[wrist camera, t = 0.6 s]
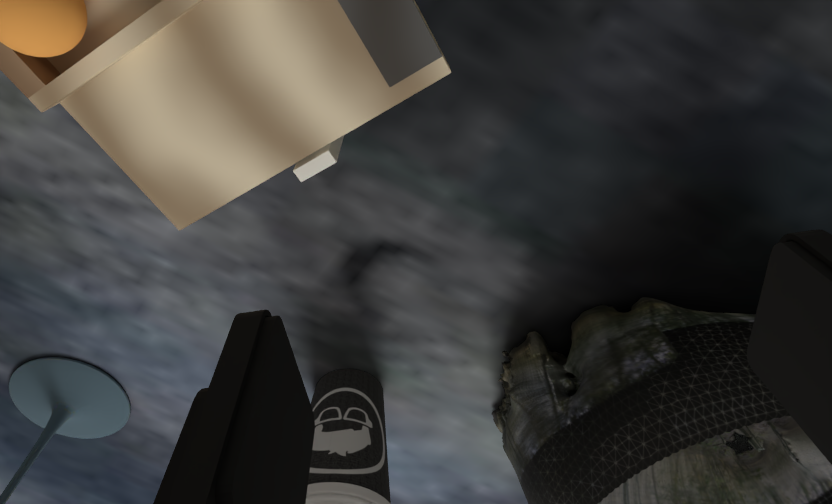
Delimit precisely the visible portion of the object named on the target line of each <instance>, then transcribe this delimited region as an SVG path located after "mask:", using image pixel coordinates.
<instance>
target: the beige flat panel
mask: <svg viewBox="0 0 832 504" xmlns="http://www.w3.org/2000/svg"><path fill="white" fill-rule="evenodd" d="M84 3H85V6H86V10H87V27H86V30H85V33H84V35H83V37H82V39H81V41H80V42H79V43H78V44H77V45H76V46H75V47H74V48H73V49H71V50H70V51H68V52H66V53H64V54H61V55H58V56H53V57H35V56H30V55H25V54H22V53H20V52H17V51H15V50H13V49H11V48H9V47H7V46H6V45H4V44H3V43H1V42H0V70H1V71H2V72H3V73H4V74H5V75H6V76H7V77H8V78H9V79H10V80H11V81H12V82H13V83H14V84H15V85H16V86H17V87H18V88H19V89H20V90H21V92H22V93H23V94H24V95H25V96H26V97H27V98H28V99H29V100H30V101H31V102H32V103H33V104H34V105H35V106H36V107H37V108H38V109H39V110H40V111H41V112H44V111H46V110H47V109H49V108H51V107H53V106H55V105H57V104H58V103H60V104H61V105H62V106H63V107H64V108H65V109H66V110H67V111H68V112H69V113H70V114H71V115H72V117H73V118H74V119H75V120H76V121H77V122H78V123H79V124H80V125H81V126H82V127H83V128H84V129H85V130H86V131H87V133H88V134H89V135H90V136H91V137H92V138H93V139H94V140H95V141H96V142H97V143H98V144H99V145H100V146H101V147H102V149H103V150H104V151H105V152H106V153H107V154H108V155H109V156H110V157H111V158H112V159H113V160H114V161H115V162H116V164H117V165H118V166H119V167H120V168H121V169H122V170H123V171H124V172H125V173H126V174H127V175H128V176H129V177H130V178H131V180H132V181H133V182H134V183H135V184H136V185H137V186H138V187H139V188H140V189H141V190H142V191H143V192H144V193H145V194H146V196H147V197H148V198H149V199H150V200H151V201H152V202H153V203H154V204H155V205H156V206H157V207H158V208H159V209H160V210H161V212H162V213H163V214H164V215H165V216H166V217H167V218H168V219H169V220H170V221H171V222H172V223H173V224H174V225H175V226H176V228H177V229H178V230H179V231H180V230H182V229H183V228H185V227H187V226H188V225H190V224H192V223H194V222H195V221H197V220H199V219H200V218H202V217H204V216H206V215H207V214H209V213H211V212H212V211H214V210H216V209H218V208H219V207H221V206H223V205H225V204H226V203H228V202H230V201H231V200H233V199H235V198H237V197H238V196H240V195H242V194H243V193H245V192H247V191H249V190H250V189H252V188H254V187H255V186H257V185H259V184H261V183H262V182H264V181H266V180H268V179H269V178H271V177H273V176H274V175H276V174H278V173H280V172H281V171H283V170H285V169H286V168H288V167H290V166H292V165H293V164H295V163H297V162H298V161H300V160H302V159H304V158H305V157H307V156H309V155H311V154H312V153H314V152H316V151H317V150H319V149H321V148H323V147H324V146H326V145H328V144H329V143H331V142H333V141H335V140H336V139H338V138H340V137H341V136H343V135H345V134H347V133H348V132H350V131H352V130H354V129H355V128H357V127H359V126H360V125H362V124H364V123H366V122H367V121H369V120H371V119H372V118H374V117H376V116H378V115H379V114H381V113H383V112H384V111H386V110H388V109H390V108H391V107H393V106H395V105H397V104H398V103H400V102H402V101H403V100H405V99H407V98H409V97H410V96H412V95H414V94H415V93H417V92H419V91H421V90H422V89H424V88H426V87H428V86H429V85H431V84H433V83H434V82H436V81H438V80H440V79H441V78H443V77H445V76H446V75H448V74H450V73H451V70H450V67H449V65H448V63H447V61H446V59H445V57H444V55H443V53H442V51H441V49H440V48H439V46H438V44H437V42H436V40H435V38H434V36H433V34H432V32H431V30H430V29H429V27H428V25H427V23H426V21H425V19H424V17H423V15H422V13H421V11H420V10H419V8H418V6H417V4H416V2H415V0H84Z"/></svg>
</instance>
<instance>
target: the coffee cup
mask: <svg viewBox="0 0 832 504" xmlns="http://www.w3.org/2000/svg"><path fill="white" fill-rule="evenodd" d="M311 407H312V410H313V414H314V420H315V433H314V441H313V449H312V456H311V464H310V472H309V480H308V488H307V495H306V503H305V504H391V502H390V489H389V475H388V460H387V445H386V430H385V414H384V399H383V390H382V387H381V385H380V383H379V382H378V381H377V380H376V379H375V378H374V377H373V376H371V375H370V374H368V373H366V372H363V371H360V370H355V369H340V370H336V371H333V372H330V373H328V374H326V375H325V376H324V377H322V378H321V379H320V380H319V382H318V383H317V386H316V389H315V392H314V395H313V398H312V402H311Z"/></svg>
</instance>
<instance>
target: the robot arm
mask: <svg viewBox="0 0 832 504" xmlns="http://www.w3.org/2000/svg"><path fill="white" fill-rule="evenodd" d="M747 359H748V363H749V365H750V367H751V369H752V370H753V371H754V373H755V374H756V375H757V376H758V377H759V379H760V380H761V381H762V382H763V383H764V384H765V386H766V387H767V388H768V389H769V390H770V392H771V393H772V394H773V395H774V396H775V398H776V399H777V400H778V401H779V402H780V404H781V405H782V406H783V407H784V408H785V410H786V411H787V412H788V413H789V414H790V416H791V417H792V418H793V419H794V420H795V422H796V423H797V424H798V425H799V426H800V428H801V429H802V430H803V431H804V432H805V434H806V435H807V436H808V437H809V438H810V440H811V441H812V442H813V443H814V444H815V446H816V447H817V448H818V449H819V450H820V451H821V453H822V454H823V455H824V456H825V457H826V459H827V460H828V461H829V462H830V463H831V465H832V235H831V234H829V233H828V232H826V231H823V230H811V231H804V232H798V233H791V234H787V235H784V236H783V237H782V238H781V240H780V242H779V243H777V244H775V245H774V246H773V248H772V251H771V254H770V258H769V262H768V267H767V271H766V275H765V279H764V283H763V287H762V291H761V295H760V299H759V303H758V307H757V311H756V315H755V320H754V324H753V328H752V332H751V336H750V340H749V344H748V348H747ZM314 433H315V420H314V414H313V410H312V407H311V404H310V401H309V398H308V395H307V393H306V390H305V387H304V384H303V381H302V378H301V375H300V372H299V369H298V366H297V363H296V360H295V357H294V354H293V351H292V348H291V345H290V342H289V339H288V337H287V334H286V331H285V328H284V325H283V322H282V319H281V318H280V316H271V313H270V312H269V311H268V310H260V311H254V312H247V313H240V314H237V315H236V316H235V318H234V320H233V323H232V326H231V329H230V331H229V334H228V337H227V339H226V342H225V345H224V348H223V350H222V353H221V356H220V358H219V361H218V364H217V367H216V369H215V372H214V375H213V377H212V380H211V383H210V386H209V388H204V389H201V390H200V391H199V392H198V393H197V395H196V397H195V398H194V401H193V403H192V406H191V408H190V411H189V413H188V416H187V419H186V421H185V424H184V426H183V429H182V431H181V434H180V437H179V439H178V442H177V444H176V447H175V449H174V452H173V454H172V457H171V460H170V462H169V465H168V467H167V470H166V472H165V475H164V478H163V480H162V483H161V485H160V488H159V490H158V493H157V495H156V498H155V501H154V503H153V504H305V503H306V495H307V488H308V480H309V472H310V464H311V456H312V449H313V441H314Z"/></svg>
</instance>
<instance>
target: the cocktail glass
mask: <svg viewBox="0 0 832 504" xmlns="http://www.w3.org/2000/svg"><path fill="white" fill-rule="evenodd" d="M9 392H10V395H11V398H12V400H13V402H14V404H15V405H16V407H17V408H18V409H19V410H20V412H21V413H23V414H24V415H25V416H26V417H27V418H28V419H30V420H31V421H32V422H34V423H35V424H37V425H39V426H40V427H42V428H44V431H43V432H42V434H41V436H40V437H39V439H38V441H37V442H36V444H35V445H34V447H33V448H32V450H31V451H30V453H29V454H28V456H27V457H26V459H25V460H24V462H23V463H22V465H21V466H20V468H19V469H18V471H17V472H16V474H15V475H14V477H13V478H12V480H11V481H10V482H9V484H8V485H7V487H6V488H5V490H4V491H3V493H2V494H1V496H0V504H5V503H6V501H7V500H8V499H9V497H10V496H11V494H12V493H13V491H14V490H15V488H16V487H17V485H18V484H19V483H20V481H21V480H22V478H23V477H24V475H25V474H26V472H27V471H28V470H29V468H30V467H31V465H32V464H33V463H34V461H35V460H36V458H37V457H38V455H39V454H40V453H41V451H42V450H43V448H44V447H45V446H46V444H47V443H48V441H49V440H50V439H51V438H52V436H53V435H54V434H55V433H57V434H60V435H64V436H68V437H74V438H84V439H90V438H100V437H105V436H108V435H111V434H113V433H115V432H117V431H118V430H120V429H121V428H122V427H123V426H124V425H125V424H126V423H127V421H128V419H129V416H130V412H131V407H130V402H129V398H128V396H127V394H126V392H125V391H124V390H123V388H122V387H121V386H120V385H119V384H118V383H117V382H116V381H115V380H114V379H113V378H112V377H111V376H109V375H108V374H107V373H105V372H103V371H102V370H100V369H98V368H96V367H94V366H92V365H90V364H87V363H84V362H81V361H77V360H73V359H68V358H61V357H46V358H38V359H35V360H31V361H29V362H26V363H24V364H23V365H21V366H20V367H18V368H17V369H16V371H15V372H14V373H13V374H12V376H11V378H10V382H9Z"/></svg>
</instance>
